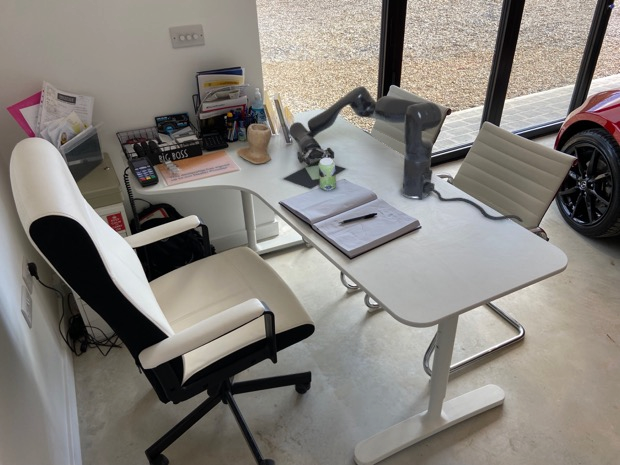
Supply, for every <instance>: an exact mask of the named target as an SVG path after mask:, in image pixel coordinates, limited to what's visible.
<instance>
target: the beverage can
mask: <svg viewBox="0 0 620 465" xmlns="http://www.w3.org/2000/svg"><path fill="white" fill-rule="evenodd" d="M319 160H320V162H319V165H318V166H319V179H320V184H319V187H320V189H322V190H324V191H331V190H333V189H335V188H336V186H337V177H336V176H337V175H335V165H336V163H335V161H334V159H331V158H323V159H319Z"/></svg>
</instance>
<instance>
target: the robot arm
mask: <svg viewBox="0 0 620 465" xmlns="http://www.w3.org/2000/svg"><path fill="white" fill-rule="evenodd" d="M347 106H350V108H351V109H352V112H354V114H356V116H358V117H359V118H366V119H375V120H380V121H383V122H385V123H391V124H404V126H403V127H404V130H403V141H404V157H403V169H402V170H403V172H402V174H403V175H402V182H401V195H402V196H404V197H405V198H407V199H412V200H424V199H425V198H426V197H427V196H429V195H430V194H431V193H435V194H436V195H437V197H438V199H439V200H440V201H442V202H457V201H461V202H465V203H468V204H470V205H472V206H474V207H475V208H477V209H478V210H479V211H480V212H481V213H482V214H483V216H485V217H486V218H488V219H491V220H494V221H495V220H497V221H499V220H506V219H514V220H517V221H518V222H520V223H523V222H524V221H523V219H522V218H521V217H519V216H517V215H514V214H507V215H502V216H494V215H490V214H489V213H487V212H486V211H485V209H484V208H483V207H482V206H481V205H479V204H477V203H476V202H474V201H472V200H470V199H469V198H464V197H452V198H444V197H442V194H441V193H440V192H439V191H438V190H437V189H435V183H433V182H432V178H433V177H432V176H433V170H432V169H431V163H432V156H433V155H432V154H433V147H434V146H433V145H434V144H433V141H432V140H431V139H429V138H426V137H423V132H426V131H429V130H433V129H435V128H437V127H438V126H439V125H440V124H441V122H442V119H443V113H442V110H441V108H440V107H439V105H437V104H436V103H435V102H432V101H414V100H409V99H405V98H401V97H396V96H391V95H384V96H382V97H380V98H379V99H378V100H377V101H376V100H375V99H374V98H373V95H371V93H370V92H369V90H368V89H367V87H366V86H360V85H359V86H358V87H355V88H353V89H351V90H350V91H349V92H348V93H347V94H345V95H344V96H342V97H341V98H340V99H339V100H337V101H336V102H335V103H333V104H332V105H330V106H329V107H328V108H327V109H325V110H324V111H322V112H320V113H319V114H317V115H315V116H313V117H311V118H310V119H309V120H308V121H307V127H308V129H307V127H306V126H305V125H304V124H303V123H302V122H299V121H296V122H293V123H292V124H291V125H290V127H289V128H288V134H289V135H290V136H291V137H292V139H293V140H294V141H295V142H296V144H297V146H298V147H299V150H300V151H297V152H296V156H297V157H296V158H297V160H298V162H299V164H303V163H304V164H305V165H306V166H311V164H312V160H313V161H314V160H321V159H323V158H331V159H333V160H334V159H335V151H334V150H333V149H332V148H331V147H327V148H326V149H324V148H322V147H321V145H320V144H319V142H318V141H317V140H316V138H315V137H316V136H317V135H318V134H320V133H321V132H324V131H325V130H327V129H329V128H331V127H332V126H333V125H334V123H336V121H337V119H338V116H339V115H340V113H341V111H342V110H343V109H344V108H346V107H347Z"/></svg>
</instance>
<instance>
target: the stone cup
mask: <svg viewBox="0 0 620 465" xmlns="http://www.w3.org/2000/svg"><path fill="white" fill-rule="evenodd" d="M246 131H247V132H246V137H247V142H248V146H247V147H243V148H239V149H238V150H237V151H236V154H237V156H240V158H243V159H244V160H246V161H248V162H249V163H252V164H255V165H259V164H264V163H267V162H269V161H271V159H272V158H271V156H270V155H269V154H268V148H269V144H270V142H271V138H272V129H271V128H270V127H269V126H268V125H265V124H263V123H251V124H250V125H249V126H248V127H247V130H246Z"/></svg>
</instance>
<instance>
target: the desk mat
mask: <svg viewBox="0 0 620 465" xmlns="http://www.w3.org/2000/svg"><path fill="white" fill-rule="evenodd" d="M320 160H321V159H317V160H316V161H314V162H312V163H311V166H308V165H306V166H305V167H303V168H301V169H299V170H297V171H295V172H293V173H291V174H289V175H288V176H285V177H283V181H287V182H290V183H293V184H296V185H298V186H301V187H304V188H307V189H309V190H311V189H313V188H315V187H317V186H319V185H320V179H319V166H318V165H319V162H320ZM344 171H346V167H343V166H340V165H337V164H335V176H337V175H338V174H339V173H342V172H344Z"/></svg>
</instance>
